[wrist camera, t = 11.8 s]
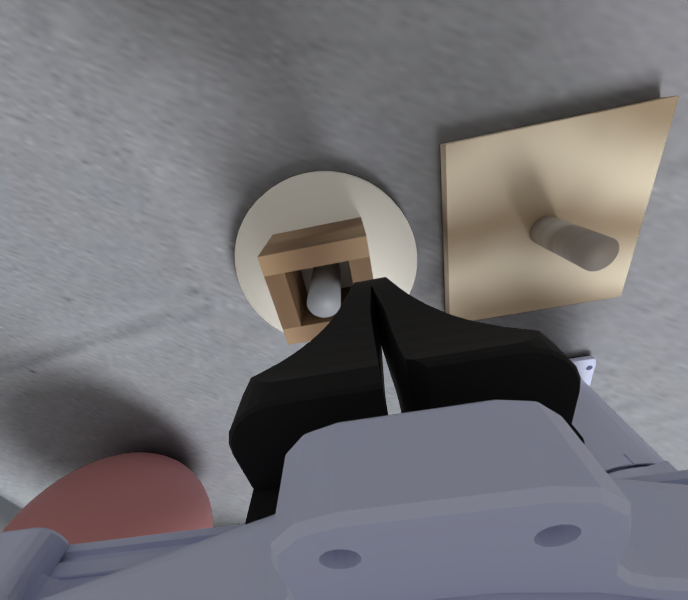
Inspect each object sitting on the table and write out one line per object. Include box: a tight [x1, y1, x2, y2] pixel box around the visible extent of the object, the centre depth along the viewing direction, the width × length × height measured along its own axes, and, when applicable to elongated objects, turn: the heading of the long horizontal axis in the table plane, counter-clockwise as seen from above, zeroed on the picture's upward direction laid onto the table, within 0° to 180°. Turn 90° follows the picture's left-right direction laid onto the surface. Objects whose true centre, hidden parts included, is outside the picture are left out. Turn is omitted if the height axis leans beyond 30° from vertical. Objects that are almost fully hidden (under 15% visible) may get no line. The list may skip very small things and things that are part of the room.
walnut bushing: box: [257, 217, 373, 345], centre depth 18 cm, size 6×6×4 cm
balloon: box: [2, 452, 213, 545], centre depth 25 cm, size 15×20×15 cm
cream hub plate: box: [235, 171, 417, 333], centre depth 18 cm, size 12×12×6 cm
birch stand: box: [440, 96, 679, 321], centre depth 17 cm, size 12×12×6 cm
